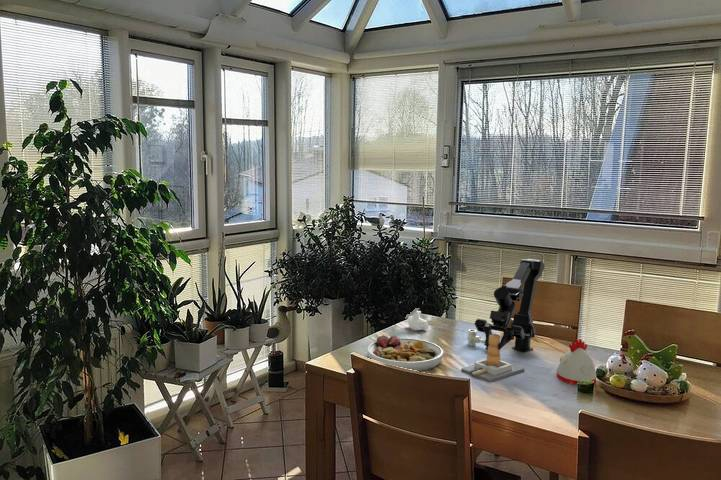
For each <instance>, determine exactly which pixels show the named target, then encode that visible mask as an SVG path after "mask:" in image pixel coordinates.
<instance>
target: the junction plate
mask: <svg viewBox="0 0 721 480" xmlns="http://www.w3.org/2000/svg"><path fill="white" fill-rule="evenodd" d="M486 359H487V358H483V359H481V360H476V361H474V364H472V365H468V366H465V367H464V366H463V367H462V368H461V369H460V370H461V372H464V373H466V374H468V375H471V376H472V377H473V376H474V377H476V378H479V379H481V380H483V381H486V382H489V383H492V382H495V381H497V380H500V379H504V378H507V377H510V376H513V375H516V374H519V373H522V372H525V368H524V367H522V366H518V365H515V364H513V363H510V362H508V361H505V360H502V359H500V365H499V366H491V365H488V364H486Z"/></svg>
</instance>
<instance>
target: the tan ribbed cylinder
mask: <svg viewBox="0 0 721 480" xmlns="http://www.w3.org/2000/svg"><path fill="white" fill-rule="evenodd" d="M500 341H501V335H499V334H496V333H495V334H493V333H492V334H491V335H489V345H488V350H487V353H486V358H485V359H486V364H488V365H491V366H499V365H500V360H501V357H502V355H501V349H500V350H499V349H498V347H499V344H500Z"/></svg>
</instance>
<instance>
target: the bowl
mask: <svg viewBox="0 0 721 480" xmlns="http://www.w3.org/2000/svg"><path fill="white" fill-rule="evenodd" d="M367 355H368V356H367V357H368V359H370V358H371V359H374V360H377V361H380V362H383V363H386V364H391V365H395V366H398V367H403V368H407V369H412V370H417V371H416V372H422V371H427V370H430V369H433V368H435V367H436V366H438V365H439V364H440V362H441V361H442V359H443V355H444V350H443V349H442V348H441V347H440V345H438V344H436V343H434V342H430V341H427V340H424V339H418V338H409V337H398V336H397V335H392V336H390V337H388V336H387V335H383V334H382V335H380V336H378V337H377V338H376V341H374V342H372V343H370V344H369V345H368V346H367Z"/></svg>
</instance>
